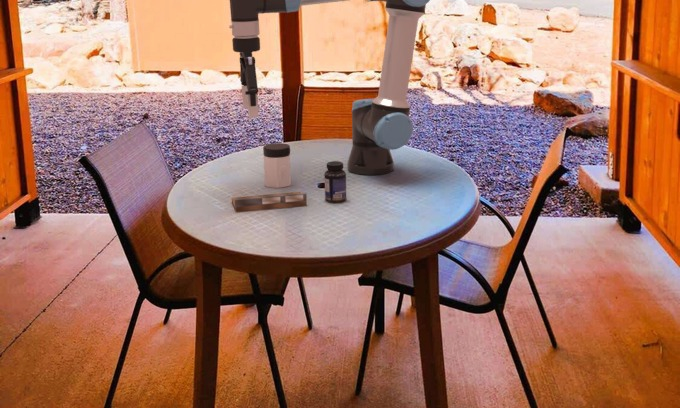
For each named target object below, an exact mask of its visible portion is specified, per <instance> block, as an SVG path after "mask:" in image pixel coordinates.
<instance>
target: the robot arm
mask: <svg viewBox="0 0 680 408" xmlns="http://www.w3.org/2000/svg"><path fill="white" fill-rule="evenodd" d="M346 1H349V0H229V8H230V23H231V24H230V25H229V26H228V27H229V29H231V35H232V36H233V37H232V50H233V52H235V53H239V63H240V65H239V67H240V72H239V73H240V79H239V80H240V85H241V96H242V97H241V98H242V109H243V110H245V109H247V111H248V113H247V114H248V119H253V118H254V119H255V118H260V117H259V115H260V114H259V104H258V103H259V100H258V93H259V88H258V80H257V70H256V58H255V56H253V53H254V52H255V53H256V52H259V51H260V50H261V42H260V41H261V40H260V39H261V38H260V37H259V35H260V32H261V31H260V21H259V20H260V19H259V14H277V13H278V14H279V13H288V14H289V13H293V12H294V13H295V12H298V11H299V10H300V8H301V6H302V7H303V6H311V5H320V4H328V3H329V4H330V3H338V2H346ZM430 1H431V0H365V2H385V8H384V9H385V11H386V12H387V13H388V15H389V16H388V24H387V29H386V30H387V32H386V36H385V37H386V38H385V44H384V52H383V59H382V65H381V73H380V80H379V87H378V93H377V96H376V97H375V98H363V99H356V100H354V101H353V102H352V105H351V106H352V107H351V122H352V123H351V126H352V127H351V128H352V129H351V131H352V132H351V133H352V135H351V136H352V137H351V138H352V145H351V150H350V153H349V156H348V159H347V166H346V167H347V168H346V169H347V171H349V172H350V173H352V174H357V175H363V176H374V175H384V174H388V172H389V173H390V172H393V171H394V169H395V167H394V166H395V164H394V159H393V155H392V153H391V150H392V151H394V150H398V149H400V148H402V147H404V146H405V145H407V143H408V142H409V141H410V140H411V137H412V135H413V132H414V130H413V129H414V125H413V122H412V119H411V118H410V110H411V105H410V103H409V102H408V100H407V97H408V96H407V95H408V89H409V83H410V76H411V72H412V71H411V70H412V64H413V63H412V62H413V58H414V57H413V56H414V50H415V43H416V36H417V31H418V26H419V25H418V22H419V19H420V18H421V17H423V16H424V15H425V13H426V11H425V10H426V8H427V7H426V6H427V4H428V3H429V2H430ZM392 170H393V171H392Z"/></svg>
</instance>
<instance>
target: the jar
mask: <svg viewBox="0 0 680 408" xmlns="http://www.w3.org/2000/svg"><path fill="white" fill-rule="evenodd" d="M262 149H263V150H262V153H263V170H264V187H267V188H275V189H280V188H286V187H290V186H291V187H292V179H291V178H292V177H291V176H292V175H291V146H290V144H287V143H282V142H281V143H279V142H275V143H269V144H265V145H263V147H262Z"/></svg>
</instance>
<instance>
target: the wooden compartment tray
mask: <svg viewBox="0 0 680 408" xmlns="http://www.w3.org/2000/svg"><path fill="white" fill-rule="evenodd" d="M307 194H308V193H307V192H301V191H293V192H292V191H291V192H281V193H270V194H268V193H267V194H257V195H248V196H236V197H235V196H234V197H231V204H232V207H233V209H234V211H235V213H244V212H245V213H246V212H254V211H255V212H256V211H264V210H265V211H266V210H276V209H287V208H288V209H289V208H296V207H297V208H298V207H305V206H306V207H307V206H308V205H307V204H308V203H307V202H308V201H307V197H308V196H307Z"/></svg>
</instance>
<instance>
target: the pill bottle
mask: <svg viewBox="0 0 680 408" xmlns="http://www.w3.org/2000/svg"><path fill="white" fill-rule="evenodd" d="M326 168H327V170H326V171H325V172H324V174H323V175H324V200H325V202H328V203H331V204H341V203H343V202H346V200H347V173H346V171H345V170H343V169H344V162H342V161H338V160H337V161H335V160H334V161H333V160H331V161H329V162H327V163H326Z"/></svg>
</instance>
